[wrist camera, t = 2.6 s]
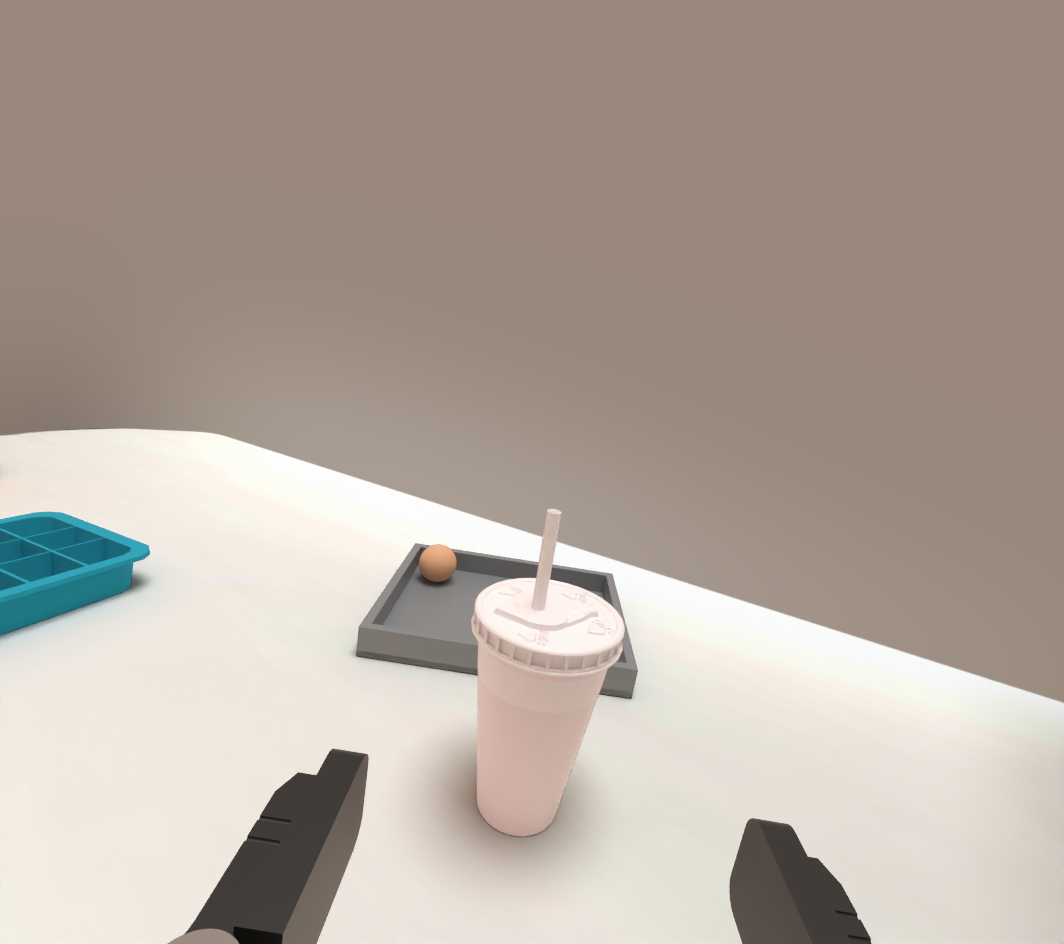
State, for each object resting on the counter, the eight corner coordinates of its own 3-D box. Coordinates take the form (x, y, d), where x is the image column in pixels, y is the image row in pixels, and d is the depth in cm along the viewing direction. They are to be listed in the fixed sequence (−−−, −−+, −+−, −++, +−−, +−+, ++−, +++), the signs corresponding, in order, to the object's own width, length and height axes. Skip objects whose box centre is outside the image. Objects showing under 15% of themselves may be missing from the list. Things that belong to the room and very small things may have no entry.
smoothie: (438, 754, 27) (474, 483, 24) (559, 743, 29) (608, 492, 26) (458, 878, 21) (509, 540, 18) (609, 854, 23) (679, 546, 20)
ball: (457, 575, 46) (461, 542, 45) (450, 591, 43) (455, 555, 42) (421, 569, 46) (425, 536, 45) (413, 585, 43) (416, 549, 42)
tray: (608, 594, 47) (612, 573, 47) (631, 698, 34) (637, 670, 33) (413, 564, 47) (415, 543, 47) (356, 655, 33) (358, 626, 33)
